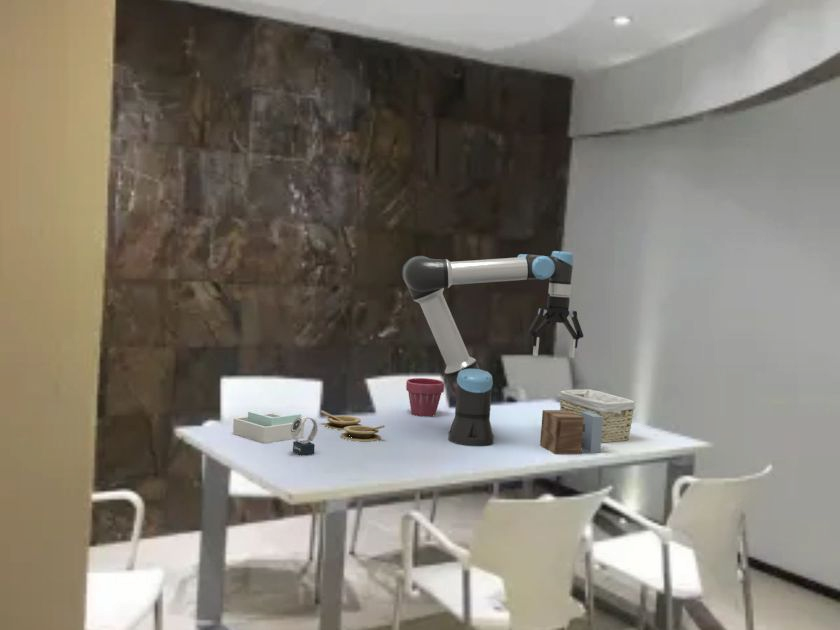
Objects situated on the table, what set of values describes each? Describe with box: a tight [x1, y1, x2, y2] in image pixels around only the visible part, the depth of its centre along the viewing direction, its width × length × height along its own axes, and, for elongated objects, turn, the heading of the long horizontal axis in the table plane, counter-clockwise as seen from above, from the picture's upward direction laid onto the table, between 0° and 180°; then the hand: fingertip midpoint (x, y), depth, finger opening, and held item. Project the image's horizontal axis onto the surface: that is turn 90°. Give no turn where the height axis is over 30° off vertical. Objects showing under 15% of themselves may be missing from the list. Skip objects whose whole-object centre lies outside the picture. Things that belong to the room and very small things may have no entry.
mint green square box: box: [247, 411, 302, 427], centre depth 295 cm, size 12×12×8 cm
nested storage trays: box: [232, 412, 305, 444], centre depth 295 cm, size 16×16×5 cm
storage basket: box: [558, 388, 636, 444], centre depth 328 cm, size 24×16×15 cm
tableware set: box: [319, 409, 385, 443], centre depth 309 cm, size 30×20×6 cm, turn 26°
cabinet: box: [539, 409, 585, 455], centre depth 302 cm, size 12×10×12 cm
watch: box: [291, 415, 319, 457], centre depth 275 cm, size 6×8×11 cm
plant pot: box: [405, 377, 445, 417], centre depth 347 cm, size 14×14×13 cm
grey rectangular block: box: [580, 411, 603, 454], centre depth 305 cm, size 9×4×12 cm, turn 18°
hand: (553, 356), depth 320 cm, fingers open, 13 cm apart
